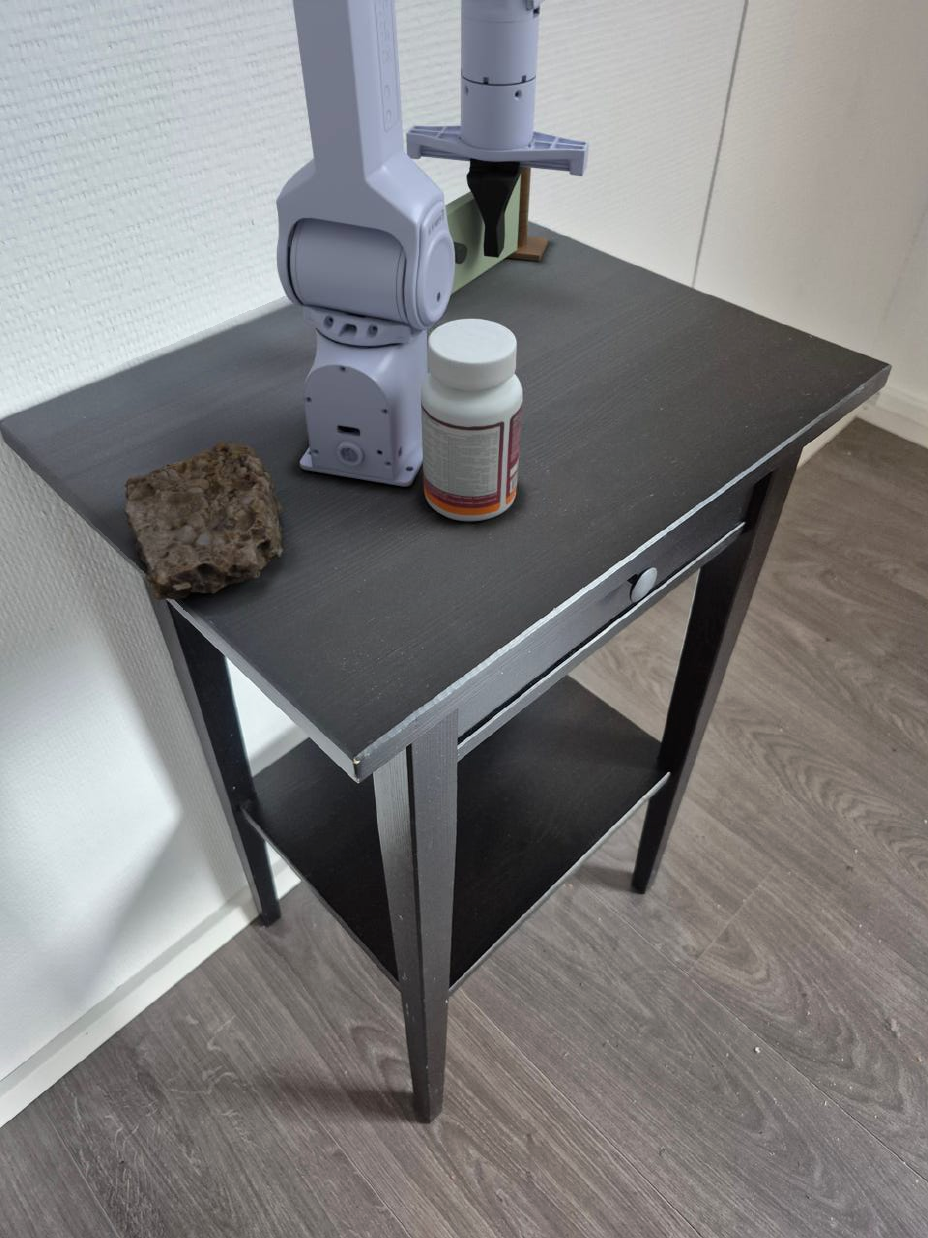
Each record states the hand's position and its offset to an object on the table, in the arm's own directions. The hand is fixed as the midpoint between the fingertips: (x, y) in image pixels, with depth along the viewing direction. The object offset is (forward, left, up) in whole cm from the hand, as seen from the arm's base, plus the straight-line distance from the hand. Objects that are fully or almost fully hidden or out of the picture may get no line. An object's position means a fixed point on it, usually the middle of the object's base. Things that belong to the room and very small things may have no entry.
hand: (493, 252), depth 77 cm
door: (+1, +1, -3) cm, 3 cm away
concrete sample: (-38, +8, +1) cm, 39 cm away
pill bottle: (-29, -5, -4) cm, 30 cm away
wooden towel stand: (+9, 0, -4) cm, 10 cm away
